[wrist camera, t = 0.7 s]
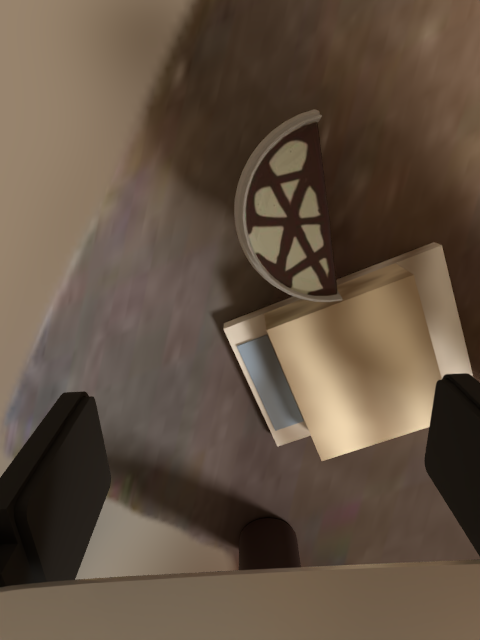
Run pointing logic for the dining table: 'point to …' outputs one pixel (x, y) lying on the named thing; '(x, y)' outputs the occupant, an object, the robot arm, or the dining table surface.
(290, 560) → the bottle
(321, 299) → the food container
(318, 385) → the build base
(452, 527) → the dining table surface
